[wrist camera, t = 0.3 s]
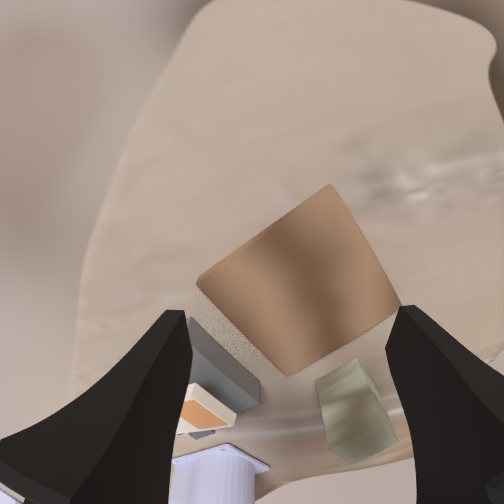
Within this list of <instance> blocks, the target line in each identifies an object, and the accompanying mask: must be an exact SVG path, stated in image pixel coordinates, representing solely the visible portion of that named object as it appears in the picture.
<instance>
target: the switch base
mask: <svg viewBox="0 0 504 504" xmlns="http://www.w3.org/2000/svg"><path fill="white" fill-rule="evenodd" d="M186 322H187V327H188V332H189V336H190V341H191V345H192V350H193V359H192V367H191V374H190V380H189V384H193V383H197V384H198V385H199V386H201V387H202V388H203V389H204V390H206V391H207V392H208V393H209V394H211V395H212V396H213V397H214V398H216V399H217V400H218V401H220V402H221V403H222V404H224V405H225V406H226V407H228V408H229V409H230V410H232V411H233V412H234V413H236V414H238V413H240V412H242V411H245V410H247V409H249V408H252V407H254V406H256V405H259V404H260V381H259V380H258V379H257V378H256V377H255V376H253V375H252V374H251V373H250V372H249V371H248V370H247V369H246V368H244V367H243V366H242V365H241V364H240V363H239V362H238V361H237V360H236V359H235V358H234V357H232V356H231V355H230V354H229V353H228V352H227V351H226V350H225V349H224V348H223V347H222V346H221V345H220V344H219V343H218V342H217V341H216V340H214V339H213V338H212V337H211V336H210V335H209V334H208V333H207V332H206V331H205V330H204V329H203V328H202V327H201V326H200V325H199V324H198V323H197V322H196V321H195V320H194V319H193V318H192V317H190V318H189V319H187V320H186ZM189 384H188V385H189ZM214 433H215V429H214V430H207V431H199V432H191V433H189V435H190V436H191V437H193V438H195V439H199V438H202V437H205V436H208V435H211V434H214ZM181 434H184V433H181ZM181 434H177V435H181Z"/></svg>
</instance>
